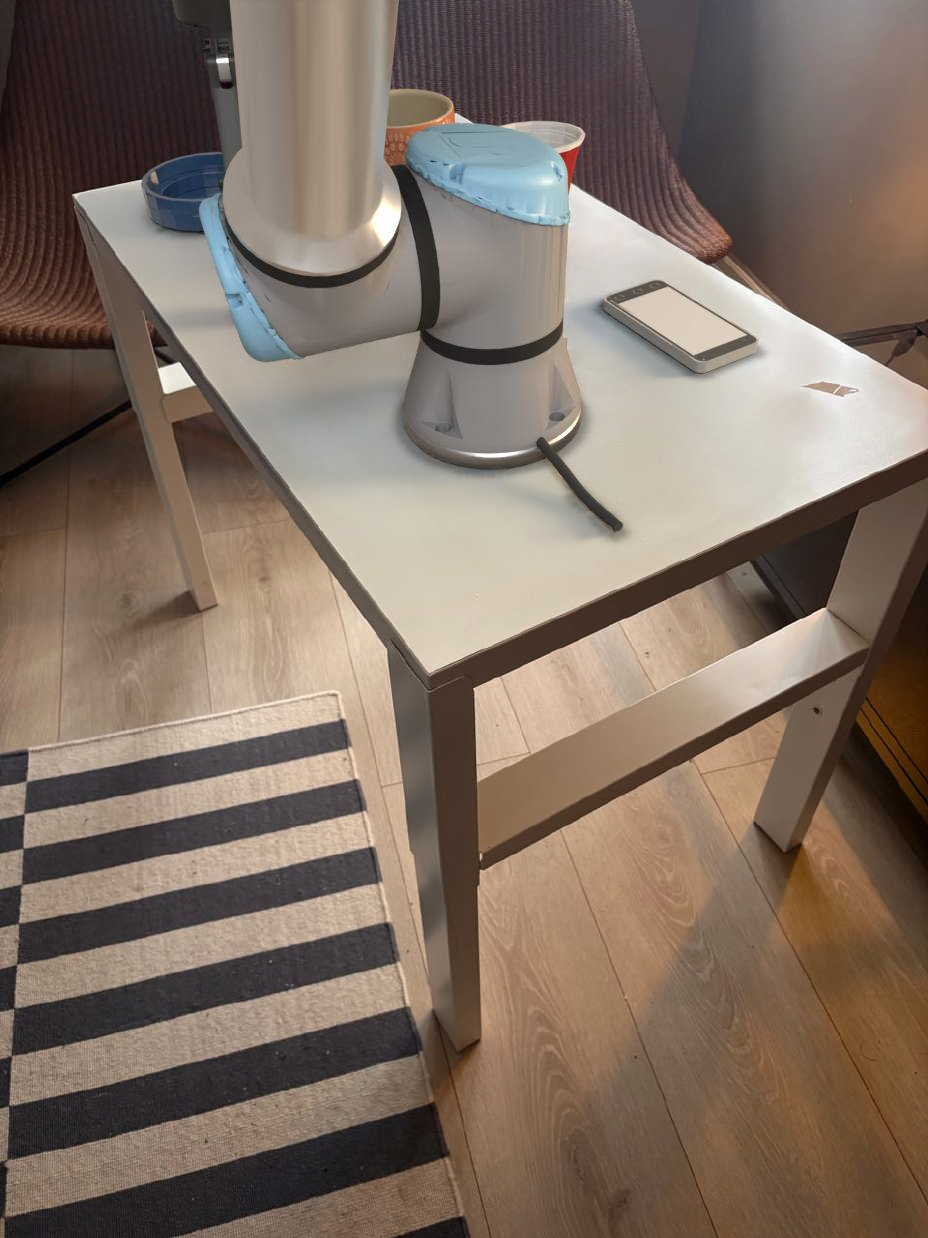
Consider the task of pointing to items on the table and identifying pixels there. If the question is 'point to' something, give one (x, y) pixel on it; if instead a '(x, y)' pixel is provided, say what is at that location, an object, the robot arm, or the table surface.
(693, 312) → the smartphone
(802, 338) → the table surface
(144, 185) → the dish
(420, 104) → the planter
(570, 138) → the plastic cup
